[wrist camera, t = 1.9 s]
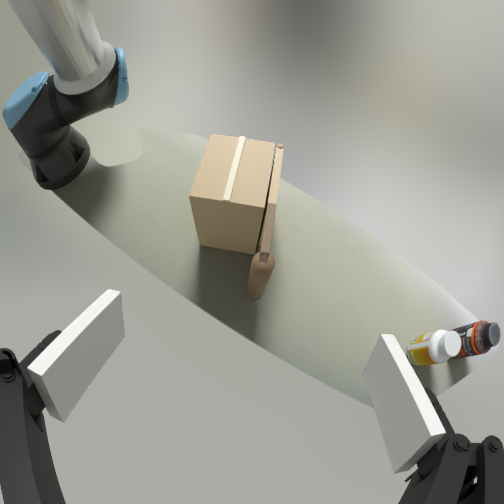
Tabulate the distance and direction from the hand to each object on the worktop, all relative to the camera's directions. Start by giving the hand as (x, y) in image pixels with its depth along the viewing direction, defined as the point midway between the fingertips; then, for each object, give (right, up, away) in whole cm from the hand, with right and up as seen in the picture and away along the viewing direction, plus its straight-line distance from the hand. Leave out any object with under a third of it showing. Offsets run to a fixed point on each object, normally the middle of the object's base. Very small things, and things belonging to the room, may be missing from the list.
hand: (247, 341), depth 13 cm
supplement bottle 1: (+29, -13, +27) cm, 42 cm away
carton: (-3, +10, +34) cm, 36 cm away
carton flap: (+2, +5, +32) cm, 33 cm away
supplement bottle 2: (+39, -14, +28) cm, 50 cm away
